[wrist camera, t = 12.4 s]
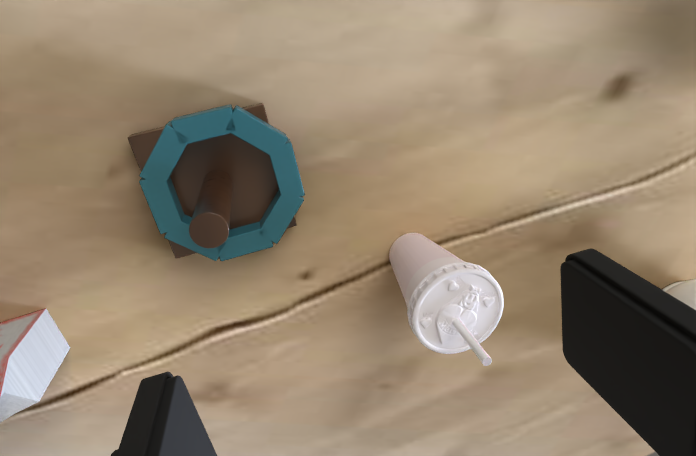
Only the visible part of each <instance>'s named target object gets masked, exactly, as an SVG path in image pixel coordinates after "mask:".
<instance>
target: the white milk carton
mask: <svg viewBox="0 0 696 456" xmlns="http://www.w3.org/2000/svg"><path fill="white" fill-rule="evenodd" d="M69 349H70V346H69V345H68V343H67V342H66V340H65V338H64V337H63V335H62V333H61V332H60V330H59V329H58V327H57V325H56V324H55V322H54V321H53V319H52V317H51V316H50V314H49V312H48V311H47V309H46V308H45V309H42V310H39V311H36V312H33V313H30V314H27V315H24V316H20V317H17V318H14V319H11V320H8V321H5V322H2V323H0V423H1V422H2V421H4V420H5V419H7V418H8V417H10V416H12V415H13V414H15V413H17V412H19V411H21V410H23V409H25V408H27V407H29V406H31V405H33V404H35V403H37V402H39V401H40V399H41V397H42V396H43V394H44V392H45V391H46V389H47V387H48V385H49V384H50V382H51V380H52V378H53V377H54V375H55V373H56V372H57V370H58V368H59V366H60V365H61V363H62V361H63V359H64V358H65V356H66V354H67V353H68V351H69Z"/></svg>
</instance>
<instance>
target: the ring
mask: <svg viewBox="0 0 696 456" xmlns="http://www.w3.org/2000/svg"><path fill="white" fill-rule="evenodd" d="M229 133H231V134H233V135H235V136H236V137H238V138H240V139H242V140H244V141H245V142H247V143H249V144H251V145H252V146H254V147H256V148H258V149H259V150H261V151H263V152H265V153H267V154H268V155H270V159H271V162H272V166H273V169H274V173H275V176H276V180H277V183H278V187H279V190H278V192H277V193H276V195H275V197H274V198H273V200H272V202H271V203H270V205H269V207H268V208H267V210H266V212H265V213H264V215H263V217H262V218H261V220H260V222H256V223H252V224H249V225H245V226H241V227H238V228H234V229H230V230H229V235H228V238H227V240H226V241H225V242H224V243H223V244H222V245H220V246H218V247H216V248H203V247H201V246H199V245H197V244H196V243H195V242H194V241H193V240H192V239H191V237H190V234H189V226H190V223H191V219H192V217H190V216H188V215H185V214H184V212H183V209H182V206H181V204H180V201H179V198H178V196H177V193H176V191H175V188H174V185H173V183H172V180H171V177H170V175H171V173H172V171H173V170H174V168H175V166H176V164H177V162H178V160H179V158H180V157H181V155H182V153H183V151H184V149H185V147H186V145H187V144H189V143H193V142H197V141H201V140H205V139H209V138H213V137H217V136H221V135H225V134H229ZM140 177H142V178H141V180H140V181H139V183H140V185H141V187H142V190H143V192H144V195H145V197H146V200H147V202H148V205H149V207H150V209H151V212H152V214H153V217H154V219H155V222H156V224H157V227H158V229H159V231H160V234H163V233H166V234H165V236H164V238H166V239H168V240H170V241H173V242H175V243H177V244H179V245H181V246H184V247H186V248H188V249H190V250H192V251H195V252H197V253H199V254H201V255H203V256H206V257H208V258H210V259H212V260H214V261H217V259H218V257H219V258H220V260H221V261H224V260H228V259H231V258H235V257H238V256H242V255H246V254H249V253H253V252H256V251H260V250H263V249H267V248H270V247H273V242H274V243H276V244H277V243H278V242H279V240H280V238H281V237H282V235H283V234H284V232H285V230H286V229H287V227H288V225H289V224H290V222H291V220H292V219H293V217H294V216H295V214H296V212H297V211H298V209H299V207H300V206H301V204H302V202H303V201H304V198H303V196H304V195H305V193H304V189H303V186H302V182H301V178H300V174H299V170H298V167H297V163H296V159H295V155H294V151H293V148H292V144H291V141H290V139H289V138H287V136H286V134H285V133H283V132H281V131H280V130H278V129H276V128H274V127H273V126H271V125H269V124H268V123H266V122H264V121H263V120H261V119H259V118H258V117H256V116H254V115H253V114H251V113H249V112H247V111H246V110H244V109H242V108H241V107H239V106H237V105H236V106H235V108H234V109H233V108H232V105H230V104H229V105H225V106H221V107H217V108H213V109H209V110H204V111H200V112H196V113H192V114H188V115H184V116H180V117H176V118H174V119H173V120H172V121H170V122H168V123H167V124H166V125H165V127H164V129H163V131H162V133H161V135H160V137H159V139H158V141H157V143H156V145H155V147H154V148H153V150H152V152H151V154H150V156H149V158H148V160H147V162H146V164H145V166H144V168H143V170H142V171H141V173H140Z"/></svg>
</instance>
